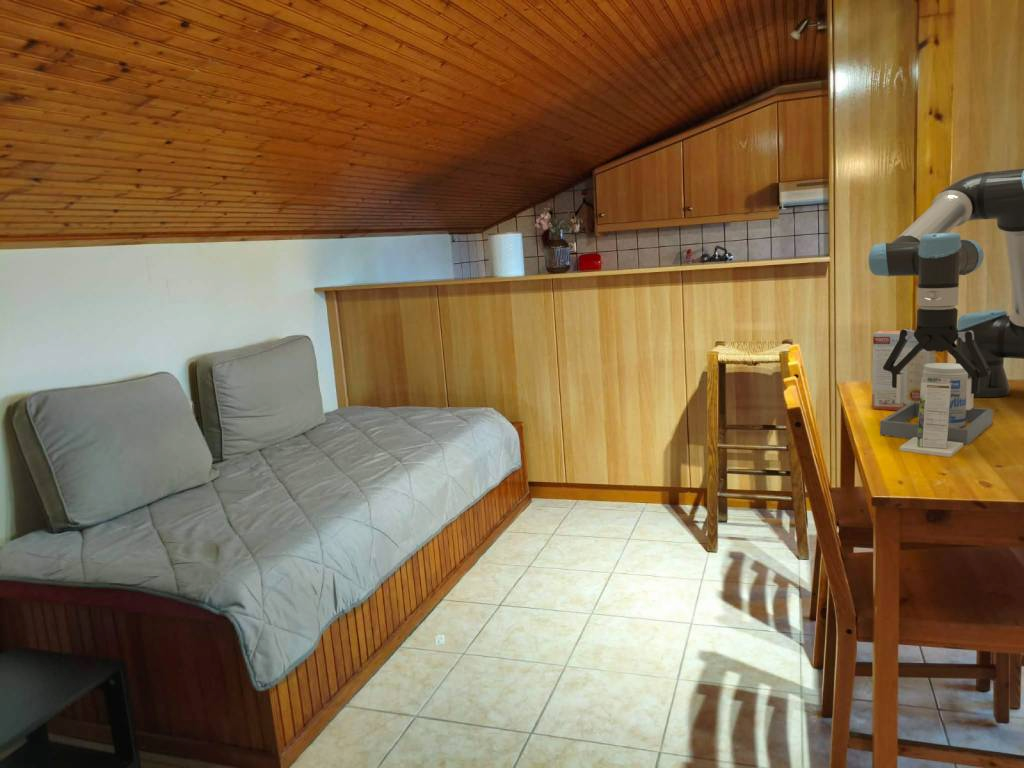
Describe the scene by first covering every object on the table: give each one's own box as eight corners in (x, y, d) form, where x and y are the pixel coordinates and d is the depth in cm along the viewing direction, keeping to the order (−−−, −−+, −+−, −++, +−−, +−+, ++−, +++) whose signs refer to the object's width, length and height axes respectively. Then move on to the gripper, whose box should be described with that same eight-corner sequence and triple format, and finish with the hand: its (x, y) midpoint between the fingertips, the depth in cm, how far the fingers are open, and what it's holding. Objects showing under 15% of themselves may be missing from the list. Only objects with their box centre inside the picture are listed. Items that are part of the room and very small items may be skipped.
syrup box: (917, 440, 171) (920, 376, 168) (948, 442, 168) (951, 377, 166) (917, 447, 166) (919, 381, 163) (948, 449, 163) (951, 382, 161)
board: (913, 440, 174) (913, 437, 174) (963, 446, 167) (963, 442, 167) (899, 450, 167) (899, 447, 167) (950, 457, 160) (950, 453, 160)
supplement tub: (946, 431, 180) (949, 370, 177) (911, 424, 188) (913, 365, 186) (974, 426, 184) (978, 365, 181) (939, 418, 192) (941, 360, 190)
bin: (911, 415, 197) (911, 402, 196) (992, 423, 185) (993, 409, 184) (880, 435, 180) (880, 420, 179) (966, 445, 168) (967, 430, 167)
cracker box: (934, 409, 202) (937, 330, 198) (928, 414, 197) (931, 333, 194) (877, 404, 211) (880, 329, 207) (870, 409, 207) (872, 331, 203)
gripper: (869, 308, 168) (867, 403, 171) (1002, 310, 151) (996, 415, 155) (880, 305, 173) (878, 396, 177) (1010, 306, 156) (1004, 407, 160)
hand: (933, 405), depth 166 cm, fingers open, 13 cm apart
